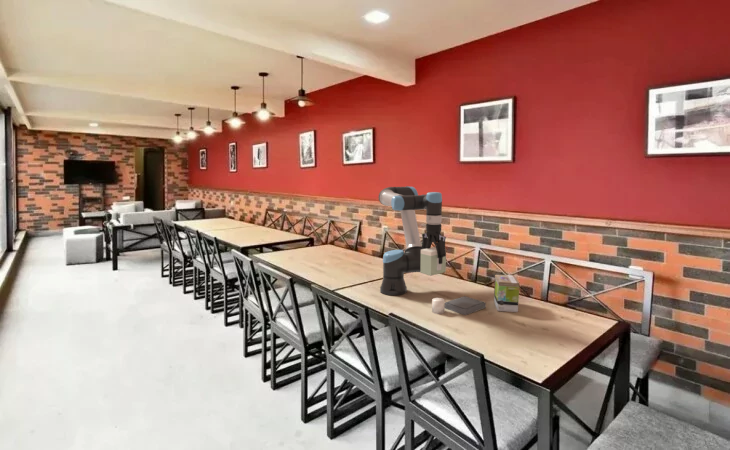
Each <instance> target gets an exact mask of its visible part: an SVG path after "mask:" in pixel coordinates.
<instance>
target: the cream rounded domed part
mask: <svg viewBox="0 0 730 450" xmlns="http://www.w3.org/2000/svg"><path fill="white" fill-rule="evenodd" d="M445 303H446V301H445V298H443V297H434V298H432V299H431V312H432V313H433V314H435V315H436V314H437V315H442V314H445V311H446V308H445Z"/></svg>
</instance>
